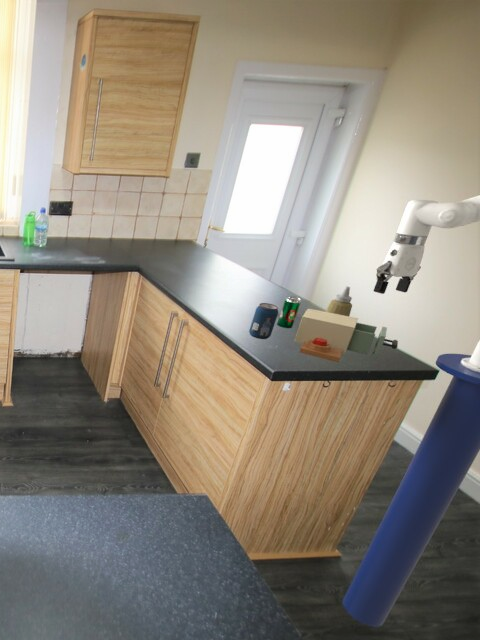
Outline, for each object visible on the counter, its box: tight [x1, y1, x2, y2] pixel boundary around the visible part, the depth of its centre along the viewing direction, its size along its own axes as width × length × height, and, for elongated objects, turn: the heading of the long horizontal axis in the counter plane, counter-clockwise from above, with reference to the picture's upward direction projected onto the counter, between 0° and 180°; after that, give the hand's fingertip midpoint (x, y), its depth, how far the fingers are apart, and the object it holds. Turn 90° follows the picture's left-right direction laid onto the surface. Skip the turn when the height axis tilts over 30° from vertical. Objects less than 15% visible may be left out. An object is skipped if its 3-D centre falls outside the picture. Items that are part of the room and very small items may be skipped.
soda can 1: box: [248, 302, 279, 340], centre depth 170 cm, size 7×7×12 cm
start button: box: [313, 338, 327, 346], centre depth 159 cm, size 4×4×2 cm
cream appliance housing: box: [293, 308, 359, 355], centre depth 167 cm, size 15×13×10 cm
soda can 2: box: [276, 296, 302, 329], centre depth 179 cm, size 5×5×12 cm
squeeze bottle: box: [325, 286, 353, 317], centre depth 175 cm, size 8×8×18 cm
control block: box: [298, 340, 343, 363], centre depth 159 cm, size 11×8×4 cm
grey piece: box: [346, 322, 399, 359], centre depth 160 cm, size 18×12×8 cm, turn 49°
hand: (389, 291), depth 157 cm, fingers open, 9 cm apart
